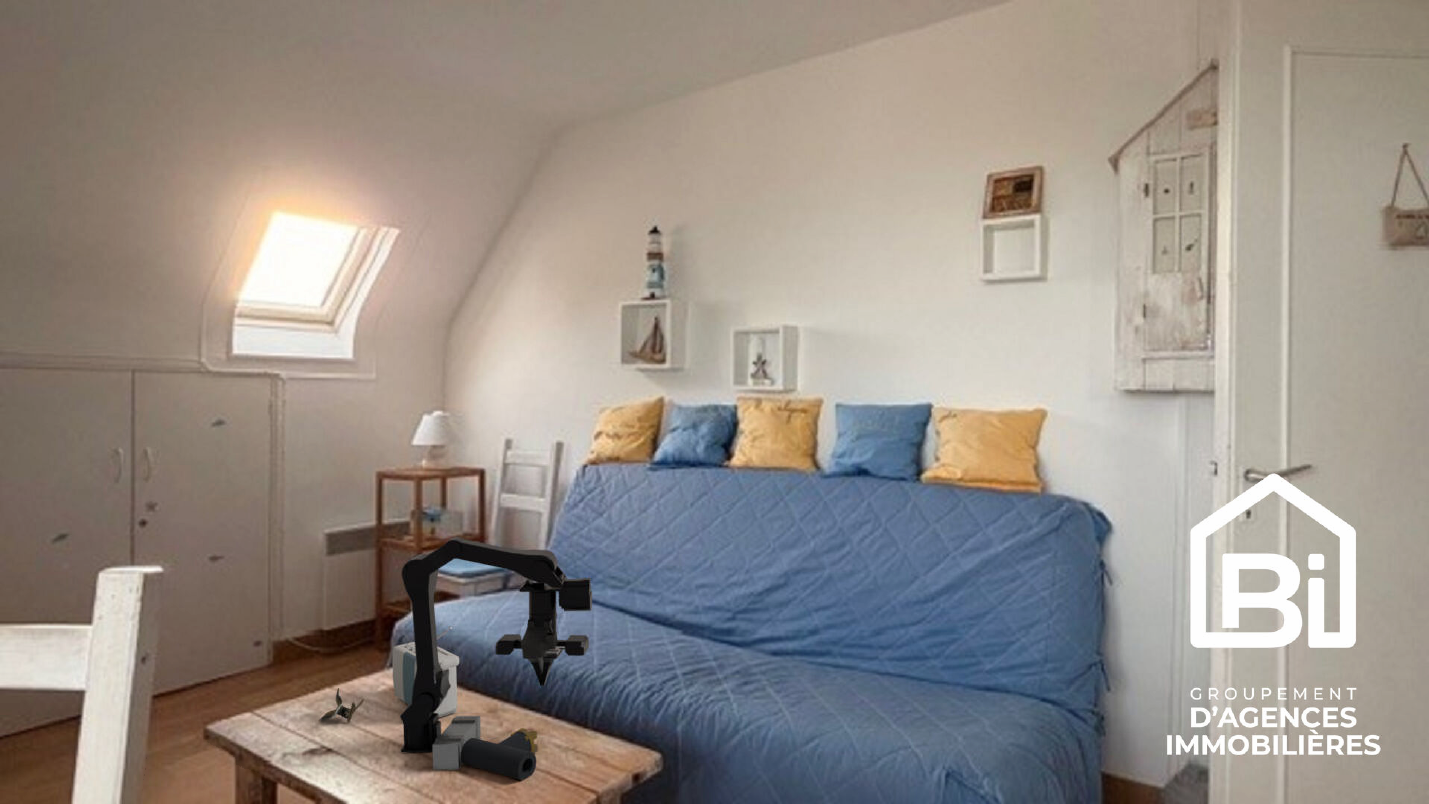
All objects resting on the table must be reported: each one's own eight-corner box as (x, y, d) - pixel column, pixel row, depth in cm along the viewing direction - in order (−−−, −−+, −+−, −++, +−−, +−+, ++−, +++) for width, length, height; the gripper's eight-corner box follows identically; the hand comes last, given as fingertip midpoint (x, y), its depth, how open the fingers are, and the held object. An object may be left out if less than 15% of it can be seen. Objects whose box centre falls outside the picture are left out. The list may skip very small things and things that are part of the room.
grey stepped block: (433, 770, 157) (432, 742, 157) (457, 739, 171) (456, 714, 171) (458, 769, 157) (458, 742, 156) (480, 739, 171) (480, 713, 170)
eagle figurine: (370, 710, 185) (343, 697, 189) (359, 691, 181) (331, 678, 185) (345, 738, 180) (318, 724, 184) (332, 719, 176) (305, 705, 180)
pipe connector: (501, 720, 168) (557, 733, 160) (502, 745, 168) (558, 759, 161) (459, 743, 158) (517, 758, 150) (461, 769, 158) (518, 786, 150)
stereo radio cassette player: (392, 700, 195) (389, 617, 195) (425, 691, 200) (423, 611, 200) (427, 724, 179) (425, 635, 179) (462, 713, 185) (460, 627, 185)
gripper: (486, 621, 162) (486, 699, 162) (578, 622, 161) (578, 700, 161) (503, 607, 173) (503, 679, 173) (589, 608, 172) (589, 680, 172)
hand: (542, 685), depth 170 cm, fingers closed
